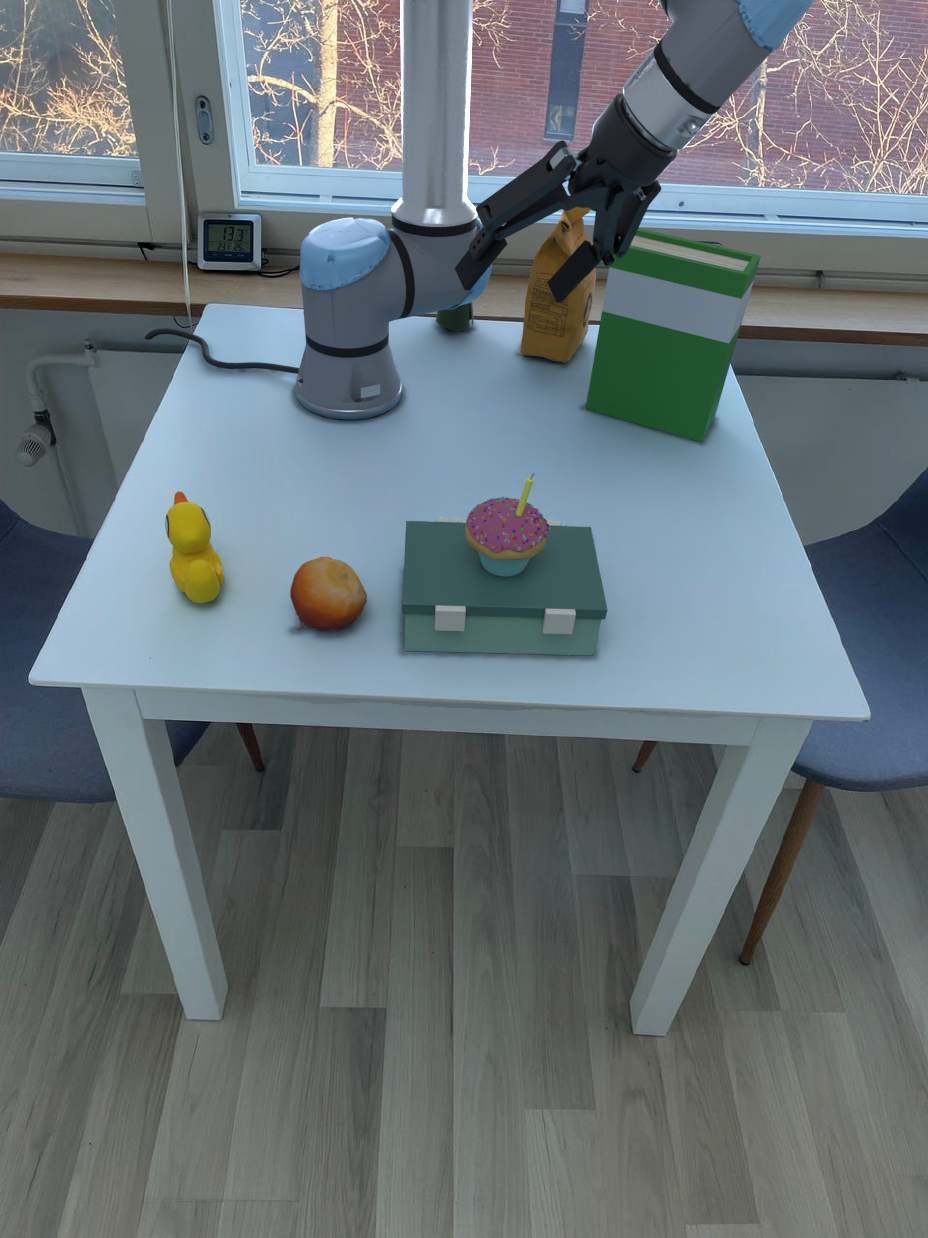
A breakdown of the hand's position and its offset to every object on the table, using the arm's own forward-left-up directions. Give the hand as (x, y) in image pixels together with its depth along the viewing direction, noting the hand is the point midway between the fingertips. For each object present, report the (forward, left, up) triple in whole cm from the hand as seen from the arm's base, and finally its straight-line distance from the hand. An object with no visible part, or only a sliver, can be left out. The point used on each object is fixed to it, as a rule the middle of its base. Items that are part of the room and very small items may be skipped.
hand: (509, 286), depth 94 cm
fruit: (-5, -29, -28) cm, 40 cm away
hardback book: (+10, +32, -28) cm, 44 cm away
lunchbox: (+10, -18, -28) cm, 35 cm away
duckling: (-20, -32, -28) cm, 47 cm away
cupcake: (+10, -18, -21) cm, 30 cm away
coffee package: (-11, +43, -28) cm, 52 cm away
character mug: (-28, +40, -28) cm, 57 cm away
